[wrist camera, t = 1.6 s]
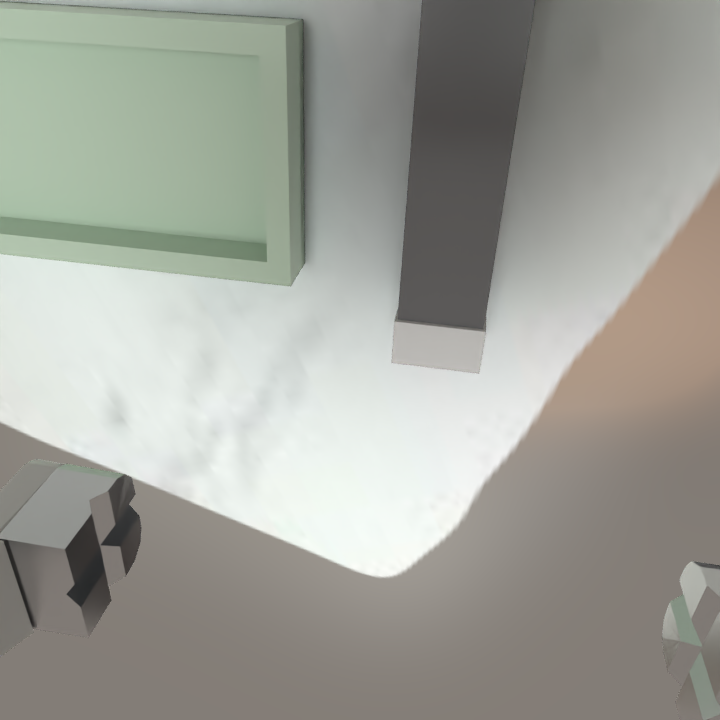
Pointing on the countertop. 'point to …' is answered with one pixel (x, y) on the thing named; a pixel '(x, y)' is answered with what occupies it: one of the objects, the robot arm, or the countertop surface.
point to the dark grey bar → (458, 176)
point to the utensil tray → (153, 140)
